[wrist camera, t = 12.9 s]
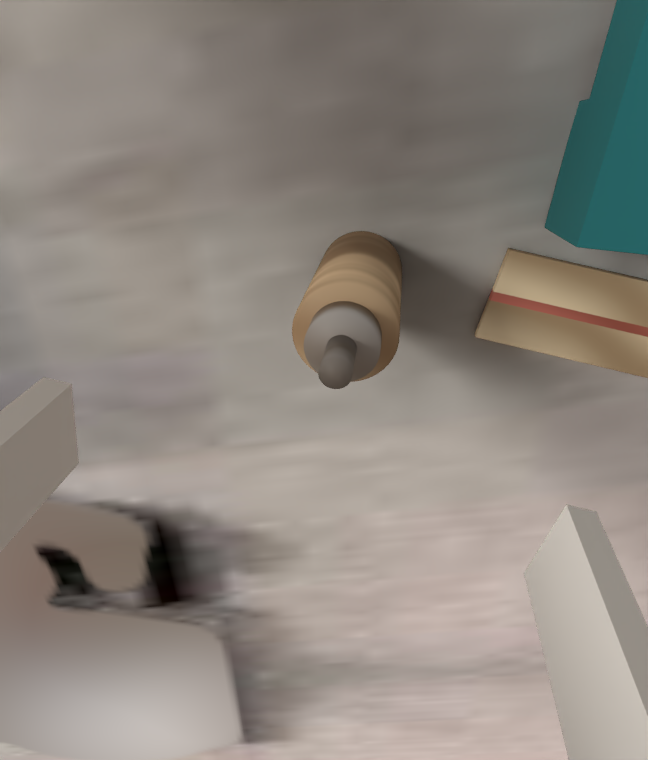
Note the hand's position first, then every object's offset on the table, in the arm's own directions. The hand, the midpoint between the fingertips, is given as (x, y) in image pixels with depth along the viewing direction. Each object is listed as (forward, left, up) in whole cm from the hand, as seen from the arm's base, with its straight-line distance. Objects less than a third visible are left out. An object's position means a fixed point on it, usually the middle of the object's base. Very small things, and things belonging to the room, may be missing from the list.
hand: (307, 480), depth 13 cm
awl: (0, 0, -17) cm, 17 cm away
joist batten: (-1, +15, -17) cm, 22 cm away
